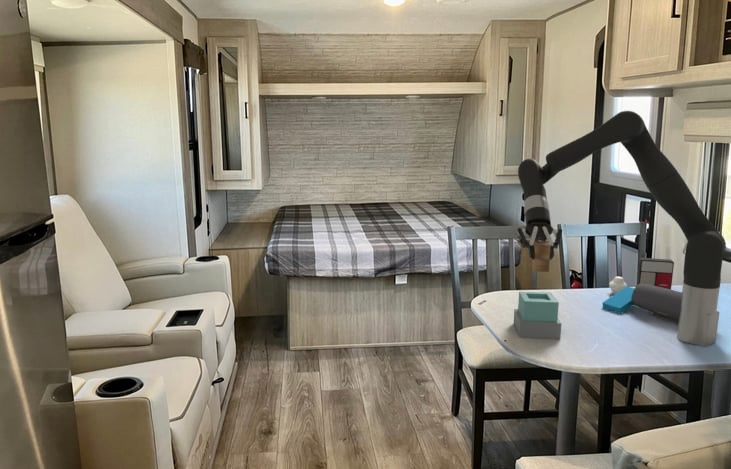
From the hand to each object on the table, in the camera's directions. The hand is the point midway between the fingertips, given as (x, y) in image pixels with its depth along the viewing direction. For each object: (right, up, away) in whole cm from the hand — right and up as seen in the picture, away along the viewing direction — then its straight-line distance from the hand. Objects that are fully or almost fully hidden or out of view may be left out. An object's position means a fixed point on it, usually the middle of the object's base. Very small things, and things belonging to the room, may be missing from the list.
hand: (542, 258), depth 164 cm
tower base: (0, -23, +6) cm, 24 cm away
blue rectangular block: (+40, -19, +30) cm, 54 cm away
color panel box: (+54, -17, +39) cm, 69 cm away
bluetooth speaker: (+48, -21, +17) cm, 55 cm away
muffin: (+44, -16, +45) cm, 65 cm away
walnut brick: (0, -4, +3) cm, 5 cm away
